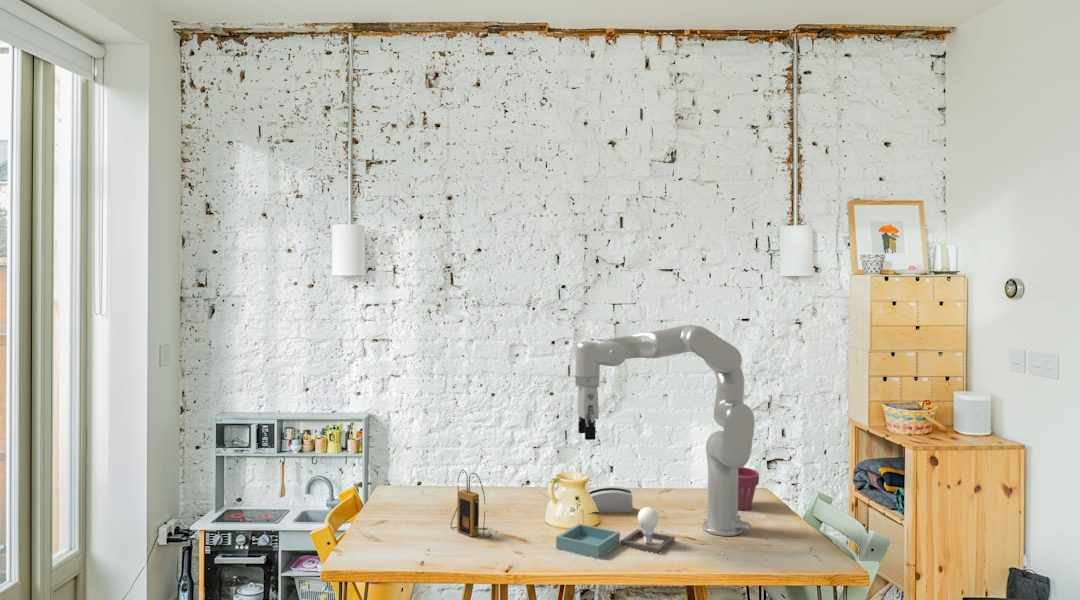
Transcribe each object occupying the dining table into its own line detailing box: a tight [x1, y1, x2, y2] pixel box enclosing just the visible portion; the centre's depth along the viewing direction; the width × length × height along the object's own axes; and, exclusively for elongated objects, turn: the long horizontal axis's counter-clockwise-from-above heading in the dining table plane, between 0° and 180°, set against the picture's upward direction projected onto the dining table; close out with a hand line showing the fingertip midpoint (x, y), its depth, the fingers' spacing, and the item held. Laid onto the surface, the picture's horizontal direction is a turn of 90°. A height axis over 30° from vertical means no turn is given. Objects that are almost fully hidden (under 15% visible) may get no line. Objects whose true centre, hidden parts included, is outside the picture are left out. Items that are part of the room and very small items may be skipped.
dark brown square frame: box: [619, 528, 676, 555], centre depth 215 cm, size 12×12×2 cm
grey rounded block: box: [588, 485, 634, 513], centre depth 246 cm, size 17×5×10 cm, turn 96°
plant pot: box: [738, 466, 760, 511], centre depth 253 cm, size 14×14×13 cm
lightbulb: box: [637, 506, 660, 545], centre depth 215 cm, size 6×6×11 cm
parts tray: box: [555, 523, 621, 559], centre depth 212 cm, size 14×14×4 cm
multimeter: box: [450, 469, 492, 538], centre depth 225 cm, size 15×10×20 cm
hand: (586, 436), depth 222 cm, fingers open, 9 cm apart
